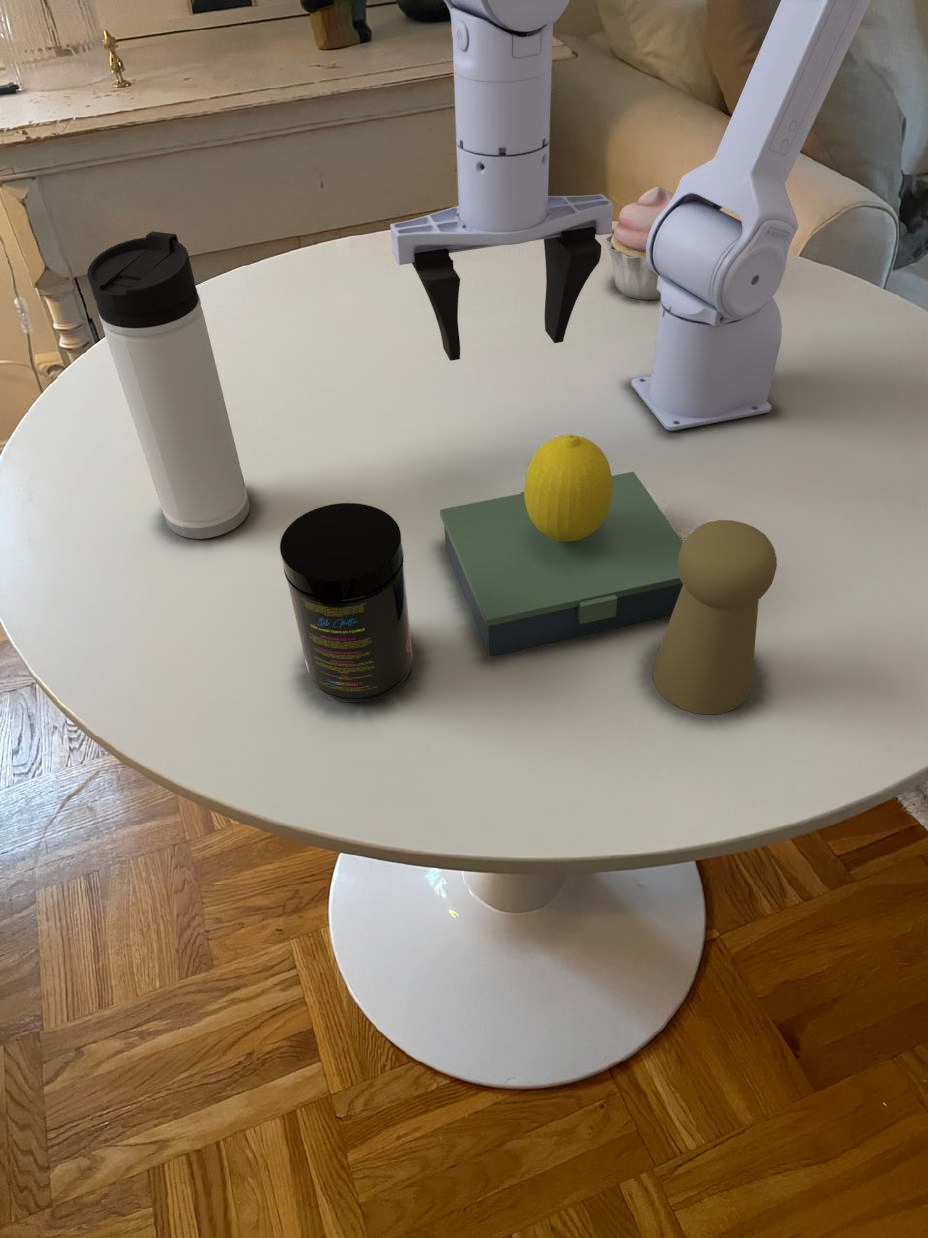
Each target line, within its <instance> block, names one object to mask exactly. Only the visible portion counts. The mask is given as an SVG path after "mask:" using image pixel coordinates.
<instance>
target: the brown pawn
mask: <svg viewBox="0 0 928 1238" xmlns="http://www.w3.org/2000/svg"><path fill="white" fill-rule="evenodd" d="M682 542H683V544H682V547H681V549H680V552H679V556H678V568H679V575H680V580H681V582H682V583H683V586H682V589H681V591H680V594H679V597H678V600H677V602H676V605H675V608H674V610H673V613H672V615H670V618H669V620H668V623H667V627H666V629H665V632H664V634H663V637H662V640H661V643H660V645H659V648H658V651H657V654H656V656H655V660H654V663H653V665H652V668H651V673H652V676H651V677H652V682H653V684H654V686H655V687H656V690H657V692H658V693H659V694H661V696H662V697H664V699H665V700H667V702H669V704H672V705H674V706H676V707H678V708H680V709H681V710H684V711H687V712H691V713H695V714H698V715H719V714H724V713H727V712H732V711H733V710H734V709H736V708H738V707H740V706H741V705H743V703H745V701H746V700H747V698H748V697H749V696H750V693H751V690H752V685H753V676H754V665H755V664H754V662H755V650H756V640H757V639H756V638H757V627H758V626H757V625H758V615H759V613H758V612H759V601H760V599H761V598H763V596H764V595H765V594H766V593H767V592H768V591H769V589H770V588H771V586H772V585H773V582H774V579H775V575H776V572H777V568H778V562H777V561H778V560H777V556H776V555H777V554H776V550H775V548H774V546H773V543H772V542H771V540H770V539H769V538H768V537H767V535H766V534H765V533H763V532H762V531H761V530H760V529H758V528H757V527H755V526H753V525H750V524H748V523H745V522H741V521H738V520H737V521H736V520H731V519H718V520H712V521H707V522H705V523H703V524H701V525H699V526H697V527H696V528H694V530H692V531H691V532H690V533H689V534H688V535H687V536H686V537H685V539H684V540H683V541H682Z"/></svg>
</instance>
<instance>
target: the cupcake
mask: <svg viewBox="0 0 928 1238" xmlns="http://www.w3.org/2000/svg"><path fill="white" fill-rule="evenodd" d="M673 196H674V194H673V193H672V191H671V190H669V189H667V188H665V187H663V186H662V187H661V186H656V187H653V188H651V189H649V190H647V191H645V193H643V194H642V195H641V196H640V197H639V198H638V200H637V201H636V202H631V203H629V204H627V205H625V206H624V207H623V208H622V209H621V211H620V213H619V217H618V222H617V224H616V225H615V227H614V228H612V232H611V234H609V235H607V236H605V237H604V239H603V241H604V244H605V246H606V249H607V251H608V254H609V256H610V261H611V266H612V272H613V279H614V285H615V287H616V290H618V291H619V293H621V294H623V295H625V296H627V297H630V298H633V299H638V300H659V299H660V300H661V293H660V292H659V291H658V290H657V282H658V275H657V274H656V273H654V272H653V271H652V270H651V268H650V266H649V264H648V261H647V257H646V244H647V239H648V235H649V232H650V230H651V227H652V225H653V223H654V222H655V220H656V218H657V217H658V215H659V214H660V213H661V212H662V211H663V209H664V208H665V207H666V206H667V205H668V204H669V202H670V201H671V199H672V198H673Z"/></svg>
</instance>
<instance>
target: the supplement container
mask: <svg viewBox="0 0 928 1238" xmlns="http://www.w3.org/2000/svg"><path fill="white" fill-rule="evenodd" d="M402 542H403V541H402V534H401V529H400V526H399V525H398V523H397V521H396V520H395V519H394V518H393V517H392V516H391V515H390V514H389V513H387V512H386V511H384V510H382V509H380V508H378V507H376V506H372V505H368V504H365V503H358V502H357V503H356V502H341V503H340V502H339V503H332V504H327V505H324V506H323V505H322V506H320V507H316V508H313V509H311V510H309V511H307V512H305V513H303V514H302V515H300V516H299V517H297V518H295V520H293V521H292V522H291V523H290V524H289V525H288V526H287V527H286V529H285V530H284V532H283V534H282V536H281V538H280V542H279V552H280V556H281V561H282V565H283V573H284V576H285V579H286V582H287V585H288V590H289V594H290V599H291V603H292V606H293V607H292V608H293V612H294V617H295V621H296V626H297V630H298V631H297V632H298V634H299V639H300V644H301V649H302V653H303V657H304V662H305V667H306V672H307V674H308V677H309V680H310V681H311V682H312V684H313V685H314V686H315V687H316V688H317V689H318V690H319V691H320V692H322V693H323V694H325V695H326V696H327V697H330V698H332V699H333V700H337V701H341V702H347V703H364V702H370V701H374V700H378V699H379V698H382V697H385V696H386V695H388V694H390V693H392V692H393V691H394V690H395V689H397V688H398V687H399V686H400V685H401V684H402V683H403V682H404V680H405V679H406V678H407V676H408V674H409V672H410V670H411V668H412V664H413V645H412V636H411V635H412V634H411V626H410V616H409V609H408V608H409V605H408V596H407V588H406V586H407V585H406V577H405V568H404V566H405V565H404V562H405V557H404V556H405V554H404V550H403V543H402Z"/></svg>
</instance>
